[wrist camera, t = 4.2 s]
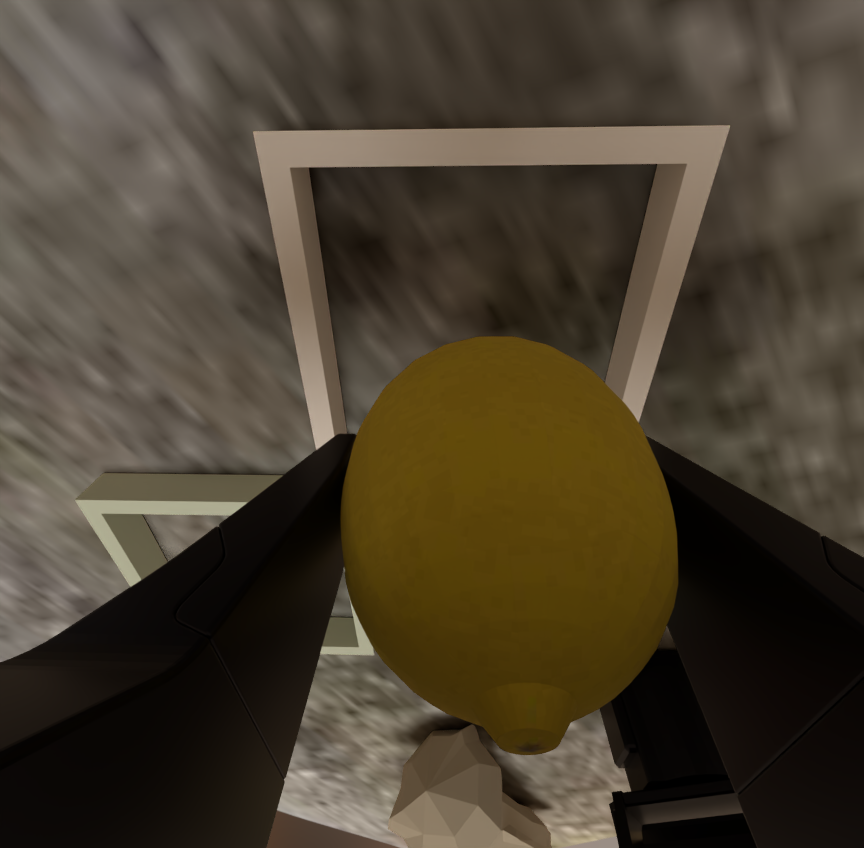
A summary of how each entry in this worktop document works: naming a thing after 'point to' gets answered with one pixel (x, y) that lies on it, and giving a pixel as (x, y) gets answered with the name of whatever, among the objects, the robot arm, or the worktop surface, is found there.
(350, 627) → the bin
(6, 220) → the worktop surface
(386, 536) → the lemon
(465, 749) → the faceted club
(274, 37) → the worktop surface
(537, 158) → the bin
